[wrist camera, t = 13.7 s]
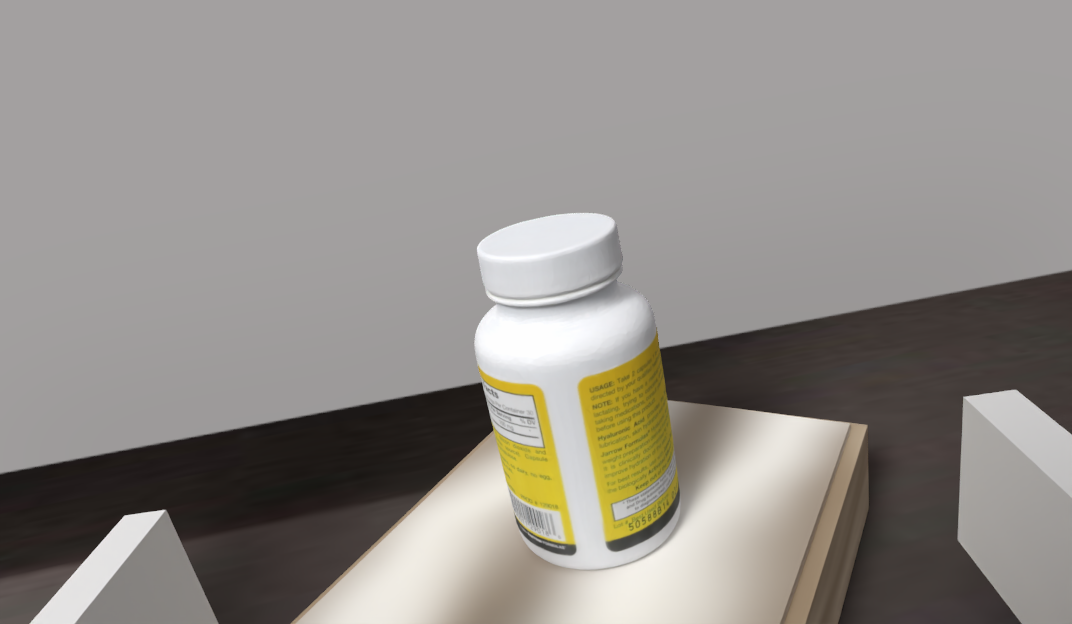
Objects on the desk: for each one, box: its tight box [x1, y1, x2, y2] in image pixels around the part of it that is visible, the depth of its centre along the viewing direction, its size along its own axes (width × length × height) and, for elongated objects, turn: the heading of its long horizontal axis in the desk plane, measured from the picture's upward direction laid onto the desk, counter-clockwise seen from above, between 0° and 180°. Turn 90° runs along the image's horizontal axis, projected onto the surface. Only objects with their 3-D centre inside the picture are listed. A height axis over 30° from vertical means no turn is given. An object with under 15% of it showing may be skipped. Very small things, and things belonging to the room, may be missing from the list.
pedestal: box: [291, 400, 869, 624], centre depth 24 cm, size 14×16×4 cm
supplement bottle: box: [475, 213, 681, 570], centre depth 22 cm, size 5×5×10 cm
